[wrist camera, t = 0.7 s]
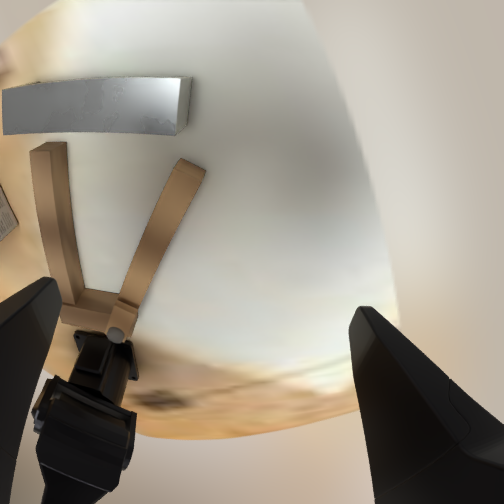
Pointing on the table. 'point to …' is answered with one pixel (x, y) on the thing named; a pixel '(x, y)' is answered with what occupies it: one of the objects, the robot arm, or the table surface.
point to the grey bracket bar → (98, 106)
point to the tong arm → (153, 246)
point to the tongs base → (65, 241)
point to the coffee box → (6, 217)
